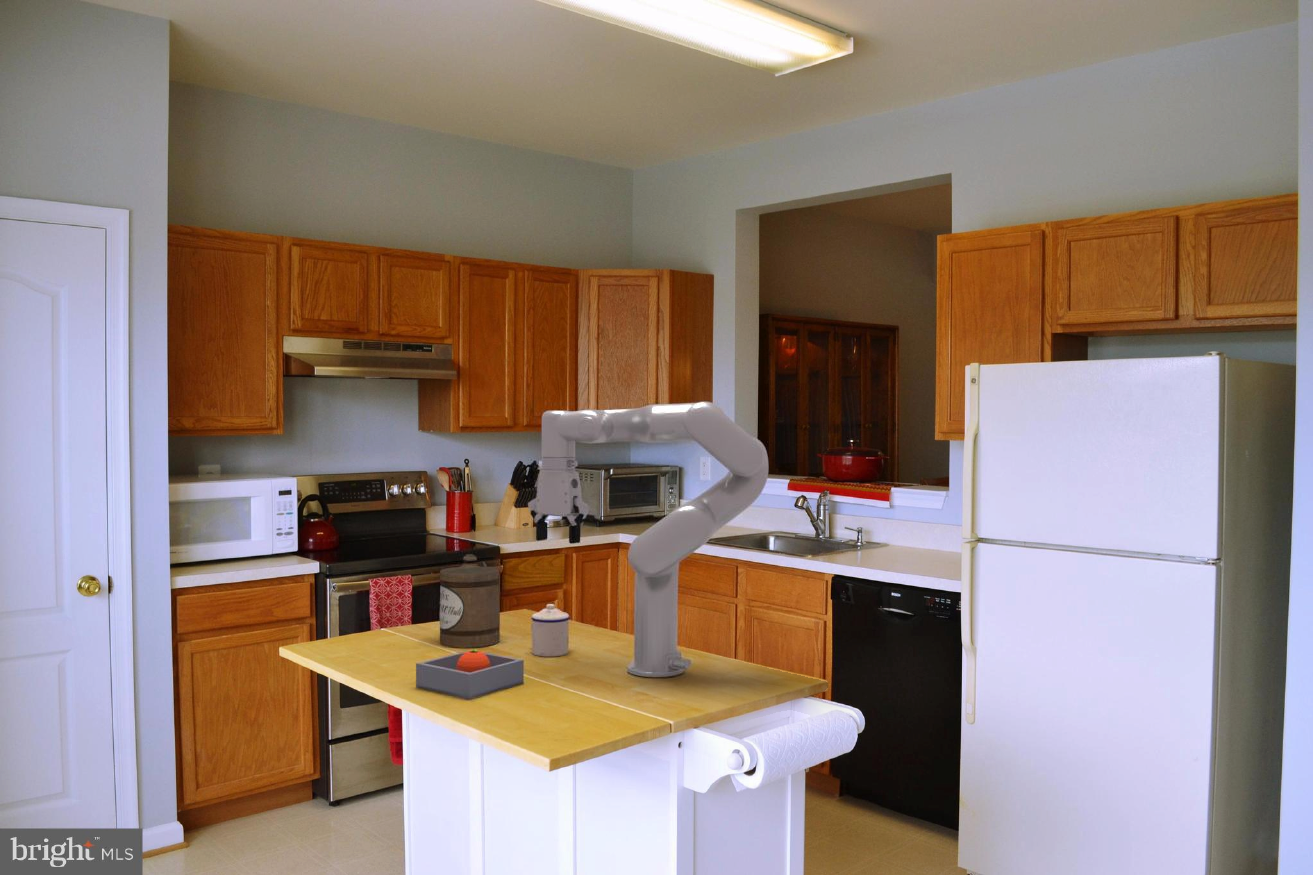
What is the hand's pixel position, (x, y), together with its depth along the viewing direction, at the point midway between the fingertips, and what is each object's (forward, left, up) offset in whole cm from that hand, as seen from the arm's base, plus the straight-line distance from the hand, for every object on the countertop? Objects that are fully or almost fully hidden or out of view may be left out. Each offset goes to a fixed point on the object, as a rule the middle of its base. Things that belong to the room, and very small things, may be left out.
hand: (558, 541), depth 224 cm
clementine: (+3, +23, -28) cm, 36 cm away
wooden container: (+35, -7, -29) cm, 46 cm away
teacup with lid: (+12, -10, -28) cm, 32 cm away
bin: (+4, +23, -28) cm, 37 cm away
